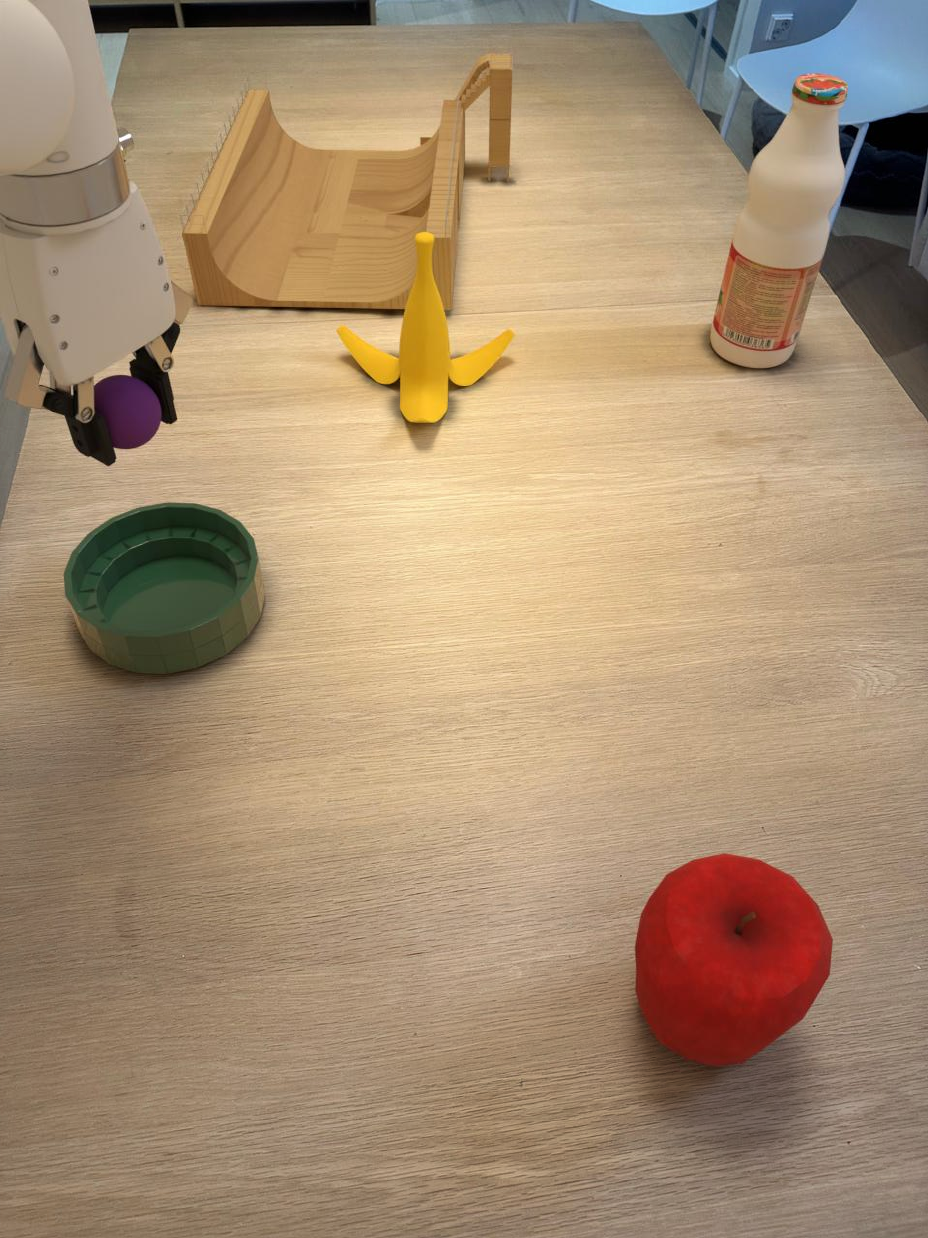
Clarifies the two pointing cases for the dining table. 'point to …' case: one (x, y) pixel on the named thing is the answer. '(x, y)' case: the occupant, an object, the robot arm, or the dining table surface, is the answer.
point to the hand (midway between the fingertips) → (128, 433)
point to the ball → (127, 410)
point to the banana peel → (424, 349)
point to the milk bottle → (782, 230)
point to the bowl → (165, 587)
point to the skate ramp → (335, 208)
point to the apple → (728, 958)
